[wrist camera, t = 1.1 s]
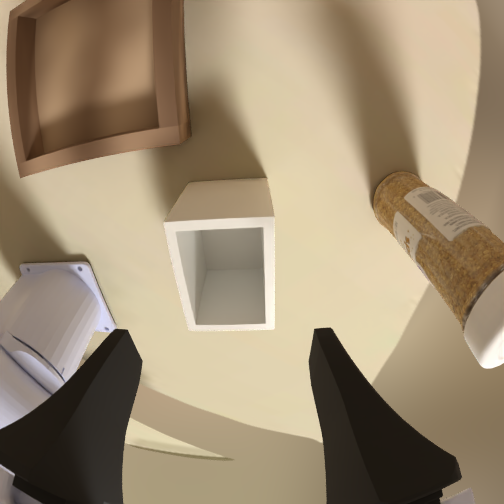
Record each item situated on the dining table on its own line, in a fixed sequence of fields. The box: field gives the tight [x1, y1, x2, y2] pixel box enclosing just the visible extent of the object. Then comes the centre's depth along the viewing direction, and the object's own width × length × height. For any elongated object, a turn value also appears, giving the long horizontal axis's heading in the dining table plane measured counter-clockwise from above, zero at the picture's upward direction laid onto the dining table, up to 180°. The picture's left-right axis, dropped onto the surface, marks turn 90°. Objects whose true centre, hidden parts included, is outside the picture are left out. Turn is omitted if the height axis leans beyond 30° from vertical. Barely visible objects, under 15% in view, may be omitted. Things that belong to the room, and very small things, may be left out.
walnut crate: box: [6, 0, 191, 178], centre depth 11 cm, size 12×13×3 cm
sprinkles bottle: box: [373, 171, 504, 368], centre depth 12 cm, size 5×5×13 cm
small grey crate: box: [163, 178, 275, 331], centre depth 17 cm, size 5×7×6 cm
